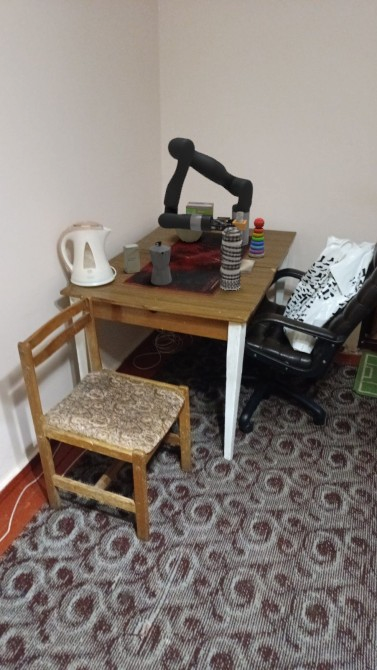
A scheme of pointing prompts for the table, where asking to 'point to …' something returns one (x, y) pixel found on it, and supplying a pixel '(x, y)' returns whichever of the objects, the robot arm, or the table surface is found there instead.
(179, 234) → the beige bowl
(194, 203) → the tea box
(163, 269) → the coffeepot
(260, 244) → the stacking toy
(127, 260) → the skincare box
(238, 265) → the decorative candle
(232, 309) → the table surface
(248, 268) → the post stand
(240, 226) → the collar
